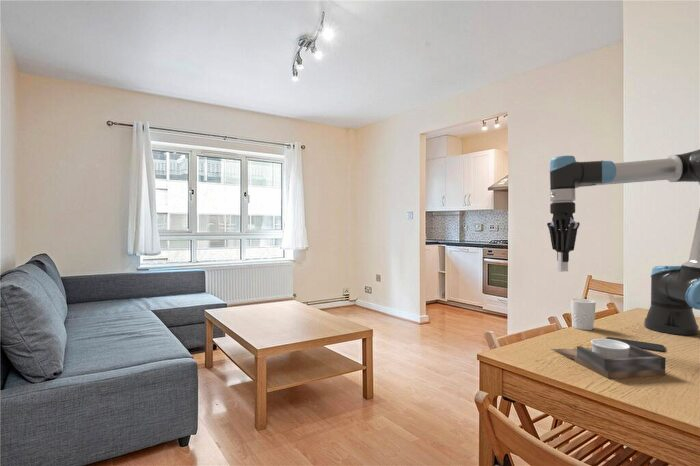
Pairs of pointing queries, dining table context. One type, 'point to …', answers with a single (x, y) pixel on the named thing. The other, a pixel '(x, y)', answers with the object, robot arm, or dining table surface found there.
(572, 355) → the dock
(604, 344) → the ramekin
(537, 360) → the dining table surface
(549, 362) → the dining table surface
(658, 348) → the phone
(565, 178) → the robot arm
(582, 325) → the white cup
